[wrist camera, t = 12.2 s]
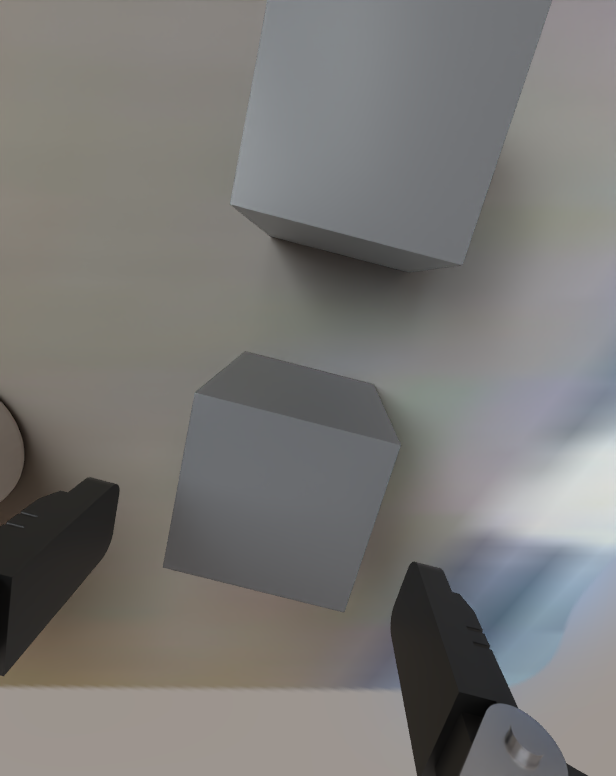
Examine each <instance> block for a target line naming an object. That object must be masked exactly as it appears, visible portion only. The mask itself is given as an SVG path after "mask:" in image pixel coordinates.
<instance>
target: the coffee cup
mask: <svg viewBox="0 0 616 776" xmlns="http://www.w3.org/2000/svg"><path fill="white" fill-rule="evenodd" d="M23 465H24V445H23V440H22V437H21V433H20V431H19V429H18V426H17V424H16V422H15V420H14V418H13V417H12V415H11V413H10V412H9V411H8V409H7V408H6V407H5V406H4V404H3V403H2V402H1V401H0V502H1V501H2V500H3V499H4V498H5V497H6V496H8V495H9V494H10V492H11V491H12V490H13V489H14V487H15V486H16V484H17V482H18V480H19V479H20V476H21V473H22V469H23Z"/></svg>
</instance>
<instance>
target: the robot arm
mask: <svg viewBox="0 0 616 776" xmlns="http://www.w3.org/2000/svg"><path fill="white" fill-rule="evenodd" d="M118 497H119V486H118V485H117V484H114V483H110V482H106V481H102V480H98V479H94V478H90V477H89V478H86V479H85V480H84V481H82V482H81V483H80V484H78V485H77V486H76V487H75V488H73V489H72V490H71V491H69V492H68V493H67V492H64V491H59V492H56V493H53V494H50V495H48V496H45V497H42V498H40V499H38V500H36V501H35V502H34V503H32V504H31V505H29V506H28V507H27V508H25V509H24V510H23V511H21V514H17V515H16V516H14V517H13V518H11V519H10V520H9V521H7V523H6V525H4V524H3V525H2V526H0V675H1V676H4V675H5V674H6V673H7V672H8V671H9V669H10V668H11V667H12V666H13V665H14V663H15V662H16V661H17V660H18V659H19V657H20V656H21V655H22V654H23V653H24V651H25V650H26V649H27V648H28V647H29V645H30V644H31V643H32V642H33V641H34V639H35V638H36V637H37V636H38V635H39V634H40V632H41V631H42V630H43V629H44V628H45V626H46V625H47V624H48V623H49V622H50V620H51V619H52V618H53V617H54V616H55V614H56V613H57V612H58V611H59V610H60V608H61V607H62V606H63V605H64V604H65V602H66V601H67V600H68V599H69V598H70V596H71V595H72V594H73V593H74V592H75V590H76V589H77V588H78V587H79V586H80V585H81V583H82V582H83V581H84V580H85V579H86V577H87V576H88V575H89V574H90V573H91V571H92V570H93V569H94V568H95V567H96V565H97V564H98V563H99V562H100V561H101V559H102V558H103V556H104V555H105V553H106V551H107V549H108V547H109V545H110V542H111V539H112V535H113V530H114V523H115V517H116V510H117V504H118ZM391 637H392V642H393V647H394V653H395V658H396V664H397V669H398V674H399V680H400V685H401V691H402V696H403V701H404V707H405V712H406V718H407V722H408V728H409V734H410V739H411V745H412V750H413V755H414V761H415V766H416V771H417V776H587V775H586V774H584V773H582V772H580V771H578V770H577V769H575V768H573V767H572V766H570V765H568V764H567V763H566V762H565V759H564V757H563V755H562V752H561V751H560V749H559V747H558V746H557V744H556V742H555V741H554V740H553V738H552V737H551V736H550V735H549V733H548V732H547V731H546V730H545V729H544V728H543V727H542V726H541V725H540V724H539V723H538V722H537V721H536V720H534V719H533V718H532V717H531V716H529V715H528V714H526V713H525V712H523V711H522V710H520V709H518V707H517V705H516V703H515V700H514V698H513V696H512V694H511V692H510V689H509V687H508V685H507V683H506V680H505V678H504V676H503V674H502V672H501V669H500V667H499V665H498V663H497V661H496V658H495V656H494V654H493V652H492V650H490V649H489V647H490V645H489V643H488V641H487V639H486V637H485V634H483V633H482V628H481V626H480V623H479V621H478V619H477V617H476V615H475V612H474V611H473V610H472V608H471V607H470V606H469V605H468V604H467V603H466V601H465V600H464V599H463V598H462V597H461V595H460V594H457V593H453V592H452V591H451V588H450V586H449V583H448V581H447V579H446V576H445V574H444V572H443V570H442V569H441V568H437V567H433V566H429V565H425V564H421V563H417V562H412V563H411V564H410V566H409V568H408V570H407V573H406V575H405V578H404V581H403V583H402V586H401V589H400V591H399V594H398V597H397V599H396V602H395V605H394V607H393V611H392V616H391Z"/></svg>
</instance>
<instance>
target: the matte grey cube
mask: <svg viewBox="0 0 616 776" xmlns="http://www.w3.org/2000/svg"><path fill="white" fill-rule="evenodd" d="M551 2H552V0H267V4H266V10H265V15H264V21H263V26H262V32H261V37H260V43H259V48H258V54H257V59H256V65H255V70H254V75H253V81H252V86H251V92H250V97H249V103H248V108H247V114H246V119H245V125H244V130H243V136H242V141H241V147H240V152H239V158H238V163H237V168H236V174H235V179H234V185H233V190H232V196H231V201H230V205H232V206H233V207H234V208H235V209H237V210H238V211H239V212H240V213H242V214H243V215H244V216H245V217H247V218H248V219H249V220H250V221H252V222H253V223H254V224H255V225H257V226H258V227H259V228H260V229H262V230H263V231H264V232H265V233H267V234H268V235H269V236H271V237H275V238H279V239H283V240H286V241H290V242H294V243H298V244H302V245H306V246H309V247H313V248H317V249H321V250H325V251H328V252H332V253H336V254H340V255H344V256H348V257H351V258H355V259H359V260H363V261H367V262H371V263H374V264H378V265H382V266H386V267H390V268H394V269H397V270H401V271H405V272H415V271H423V270H430V269H438V268H446V267H453V266H461V265H463V262H464V259H465V256H466V254H467V251H468V248H469V245H470V242H471V239H472V236H473V233H474V230H475V227H476V224H477V221H478V218H479V215H480V212H481V209H482V206H483V203H484V200H485V197H486V194H487V191H488V189H489V186H490V183H491V180H492V177H493V174H494V171H495V168H496V165H497V162H498V159H499V156H500V153H501V150H502V147H503V144H504V141H505V138H506V135H507V132H508V129H509V126H510V123H511V121H512V118H513V115H514V112H515V109H516V106H517V103H518V100H519V97H520V94H521V91H522V88H523V85H524V82H525V79H526V76H527V73H528V70H529V67H530V64H531V61H532V58H533V55H534V53H535V50H536V47H537V44H538V41H539V38H540V35H541V32H542V29H543V26H544V23H545V20H546V17H547V14H548V11H549V8H550V5H551Z"/></svg>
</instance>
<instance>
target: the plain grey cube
mask: <svg viewBox="0 0 616 776" xmlns="http://www.w3.org/2000/svg"><path fill="white" fill-rule="evenodd" d="M400 447H401V444H400V442H399V440H398V437H397V435H396V433H395V431H394V428H393V426H392V424H391V422H390V419H389V417H388V415H387V413H386V411H385V408H384V406H383V404H382V402H381V399H380V397H379V395H378V393H377V390H376V388H375V386H374V384H370V383H366V382H362V381H358V380H354V379H351V378H347V377H343V376H339V375H335V374H331V373H327V372H323V371H319V370H316V369H312V368H308V367H304V366H300V365H296V364H292V363H288V362H285V361H281V360H277V359H273V358H269V357H265V356H261V355H257V354H253V353H250V352H246V351H245V352H244V353H243V354H241V355H240V356H239V357H238V358H236V359H235V360H234V361H233V362H232V363H230V364H229V365H228V366H227V367H225V368H224V369H223V370H222V371H221V372H219V373H218V374H217V375H216V376H214V377H213V378H212V379H211V380H210V381H208V382H207V383H206V384H205V385H203V386H202V387H201V388H200V389H199V390H197V391H196V392H195V395H194V400H193V405H192V411H191V416H190V422H189V427H188V433H187V438H186V444H185V449H184V454H183V460H182V465H181V471H180V476H179V482H178V487H177V493H176V498H175V504H174V509H173V514H172V520H171V525H170V531H169V536H168V542H167V547H166V553H165V558H164V563H163V568H167V569H171V570H175V571H179V572H183V573H187V574H191V575H195V576H199V577H203V578H207V579H211V580H215V581H219V582H223V583H227V584H231V585H236V586H240V587H244V588H248V589H252V590H256V591H260V592H264V593H268V594H272V595H276V596H280V597H284V598H288V599H292V600H296V601H300V602H304V603H308V604H312V605H316V606H320V607H324V608H328V609H332V610H336V611H340V612H345V609H346V606H347V603H348V600H349V597H350V594H351V591H352V588H353V585H354V582H355V579H356V576H357V574H358V571H359V568H360V565H361V562H362V559H363V556H364V553H365V550H366V547H367V544H368V541H369V538H370V535H371V532H372V529H373V526H374V523H375V520H376V517H377V515H378V512H379V509H380V506H381V503H382V500H383V497H384V494H385V491H386V488H387V485H388V482H389V479H390V476H391V473H392V470H393V467H394V464H395V461H396V458H397V456H398V453H399V450H400Z"/></svg>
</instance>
